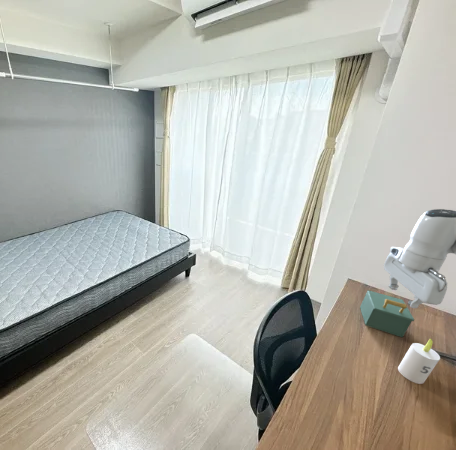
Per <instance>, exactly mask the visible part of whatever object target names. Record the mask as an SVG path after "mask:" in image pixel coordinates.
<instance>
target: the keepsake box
mask: <svg viewBox="0 0 456 450" xmlns="http://www.w3.org/2000/svg"><path fill="white" fill-rule="evenodd" d="M359 310H360V313H361V316H362V318H363V319H362V320H363V322H364V325H365V326H366V327H369V328H372V329H375V330H379V331H382V332H385V333H387V334H390V335H393V336H397V337H399V338H403V337H405V334H406V332H407V331H408V329H409V328H410V325H411V324H412V322H413V321H411V320H407V319H404V318H401V317H397V316H394V315H391V314H387V313H384V312H381V311H377V310H374V308H373V305H372V303H371V300H370V298H369V295H368V292H366V293H365V295H364V297H363V300H362V302H361V304H360V306H359Z"/></svg>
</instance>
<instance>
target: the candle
mask: <svg viewBox="0 0 456 450" xmlns="http://www.w3.org/2000/svg"><path fill="white" fill-rule="evenodd" d="M432 346H433V339H432V338H429V339H428V341H427V342H426V344H423V343H418V342H412V344H411V345H410V347H409V349H408V350H407V351H406V353H405V355H404V357H403V358H402V360H401V361H400V363H399V365H398V366H397V370H398V372H399V373H400V374H401V375H402V376H403V377H404V378H405V379H407V380H408V381H410V382H412V383H415V384H419V385H422V384H424V383H425V382H426V380H427V379H428V378H429V376H430V375H431V373H432V371H433V370H434V369H435V367H436V366H437V364H438V363H439V361H440V360H441V356H440V354H439V353H438V352H437V351H435V350H434V349H432Z"/></svg>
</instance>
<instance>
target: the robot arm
mask: <svg viewBox="0 0 456 450" xmlns="http://www.w3.org/2000/svg"><path fill="white" fill-rule="evenodd" d="M409 236H410V238H409V241H408V242H407V243H406V244H405V246H404V247H399V246H391V247H390V249H389V254H388V255H387V257H386V258H385V261H384V263H383V269H384V271H385V272H387V273H388V274H389V284H388V288H389V289H390V290H392V291H397V290H398V288H399V284H401V285H402V286H403V287H404V288H406V289H407V290H408V291H409V292H410V293H411V294H412V295H414V296H413V298H414V299H413V300H411V299H409V300H408V302H407V306H409V308H411V309H418V308H419V306H420V305H421V304H427V305H434V306H438V305H441V304H442V302H443V301H444V298H445V296H446V292H447V290H448V282H447V279H446V276H445V275H443V274H442V273H440V272H439V271H440V270H441V268H442V266H443V264H444V263H445V261H446V259H447V257H448V254H453V255H456V210H453V209H444V208H435V209H430V210H426V211H425V212H424V213H422V214H421V216H420V217H419V218H418V220H417V221H416V223H415V224H414V226H413V229H412V230H411V232H410V235H409ZM398 283H399V284H398Z"/></svg>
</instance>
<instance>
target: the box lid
mask: <svg viewBox="0 0 456 450" xmlns="http://www.w3.org/2000/svg"><path fill="white" fill-rule="evenodd" d="M367 292H368V295H369V298H370V300H371V303H372V305H373V308H374V310H377V311H381V312H384V313H387V314H391V315H394V316H397V317H401V318H404V319H407V320H411V321H412V322H414V321H415V319H414V317H413V314H412V313H411V311H410V310H409V308H408V304H406V303H405V301H404V300H403V299H402V298H398V297H395V296H391V295H387V294H383V293H380V292H376V291H372V290H369V289H368V290H367ZM367 292H366V293H367Z"/></svg>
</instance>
